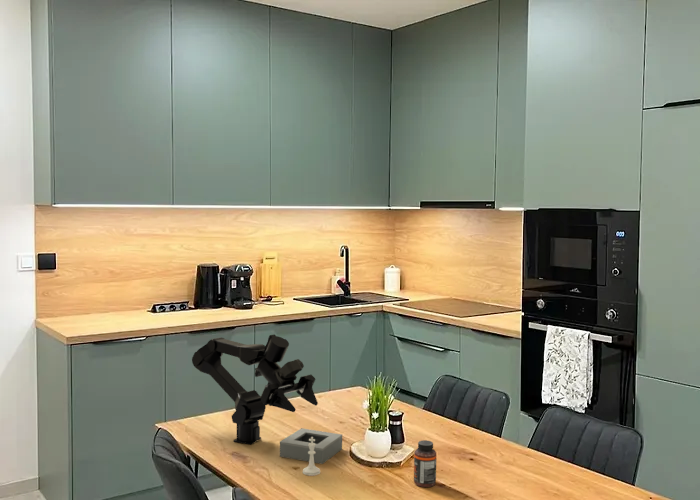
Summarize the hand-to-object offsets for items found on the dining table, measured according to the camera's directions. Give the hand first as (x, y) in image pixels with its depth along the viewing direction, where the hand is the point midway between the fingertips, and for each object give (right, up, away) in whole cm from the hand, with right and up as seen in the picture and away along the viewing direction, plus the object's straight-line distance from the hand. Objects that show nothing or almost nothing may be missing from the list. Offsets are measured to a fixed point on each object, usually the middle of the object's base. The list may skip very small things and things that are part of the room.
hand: (306, 407), depth 202 cm
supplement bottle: (+33, -17, -15) cm, 40 cm away
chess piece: (+2, -16, -8) cm, 18 cm away
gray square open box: (+1, -15, +7) cm, 17 cm away
